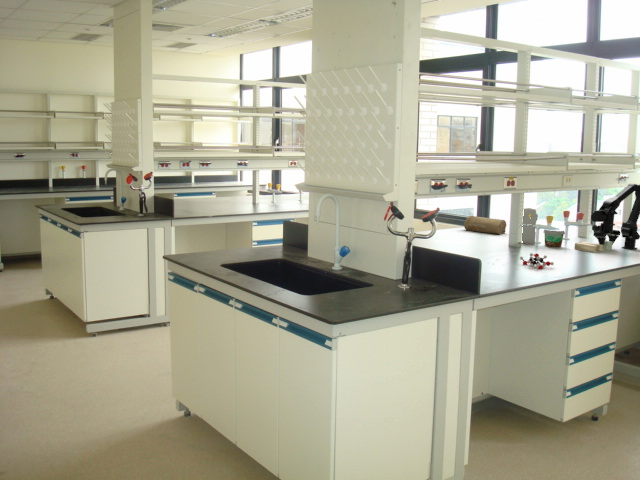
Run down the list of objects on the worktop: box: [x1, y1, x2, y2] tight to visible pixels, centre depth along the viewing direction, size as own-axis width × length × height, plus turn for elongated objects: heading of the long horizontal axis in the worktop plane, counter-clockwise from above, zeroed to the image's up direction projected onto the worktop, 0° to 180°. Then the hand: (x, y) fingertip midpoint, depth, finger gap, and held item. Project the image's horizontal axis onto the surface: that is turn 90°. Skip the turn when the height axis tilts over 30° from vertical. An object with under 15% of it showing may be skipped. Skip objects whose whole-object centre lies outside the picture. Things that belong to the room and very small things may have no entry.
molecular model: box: [519, 252, 555, 270], centre depth 307 cm, size 10×12×15 cm
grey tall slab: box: [522, 207, 539, 245], centre depth 376 cm, size 11×4×22 cm, turn 61°
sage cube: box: [603, 240, 614, 251], centre depth 364 cm, size 5×5×5 cm
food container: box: [543, 229, 566, 248], centre depth 367 cm, size 12×6×10 cm, turn 62°
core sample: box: [463, 215, 507, 235], centre depth 421 cm, size 14×26×10 cm, turn 48°
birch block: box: [574, 241, 604, 253], centre depth 360 cm, size 10×12×4 cm
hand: (605, 247), depth 364 cm, fingers open, 9 cm apart
